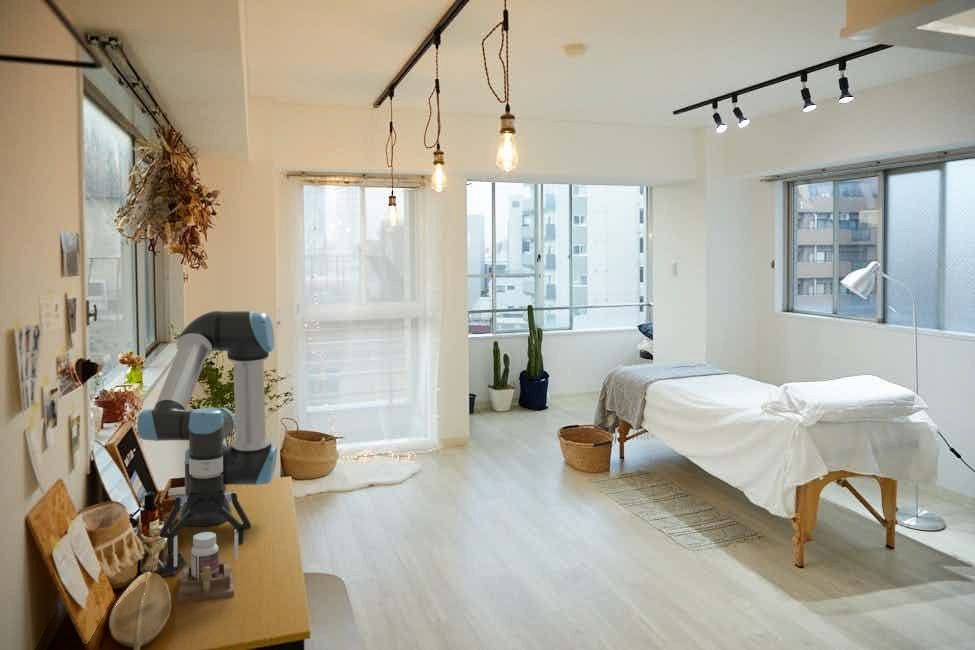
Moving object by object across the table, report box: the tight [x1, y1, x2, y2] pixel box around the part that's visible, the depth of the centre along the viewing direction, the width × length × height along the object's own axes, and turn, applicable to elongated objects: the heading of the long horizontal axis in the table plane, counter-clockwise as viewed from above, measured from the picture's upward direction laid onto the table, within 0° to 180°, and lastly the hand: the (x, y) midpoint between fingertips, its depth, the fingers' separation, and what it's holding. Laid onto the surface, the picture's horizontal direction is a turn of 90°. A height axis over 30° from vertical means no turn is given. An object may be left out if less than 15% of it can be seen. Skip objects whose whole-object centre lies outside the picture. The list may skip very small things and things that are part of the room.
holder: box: [177, 561, 235, 604], centre depth 175 cm, size 14×12×7 cm
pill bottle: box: [190, 531, 220, 581], centre depth 175 cm, size 6×6×11 cm
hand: (206, 561), depth 175 cm, fingers open, 13 cm apart
